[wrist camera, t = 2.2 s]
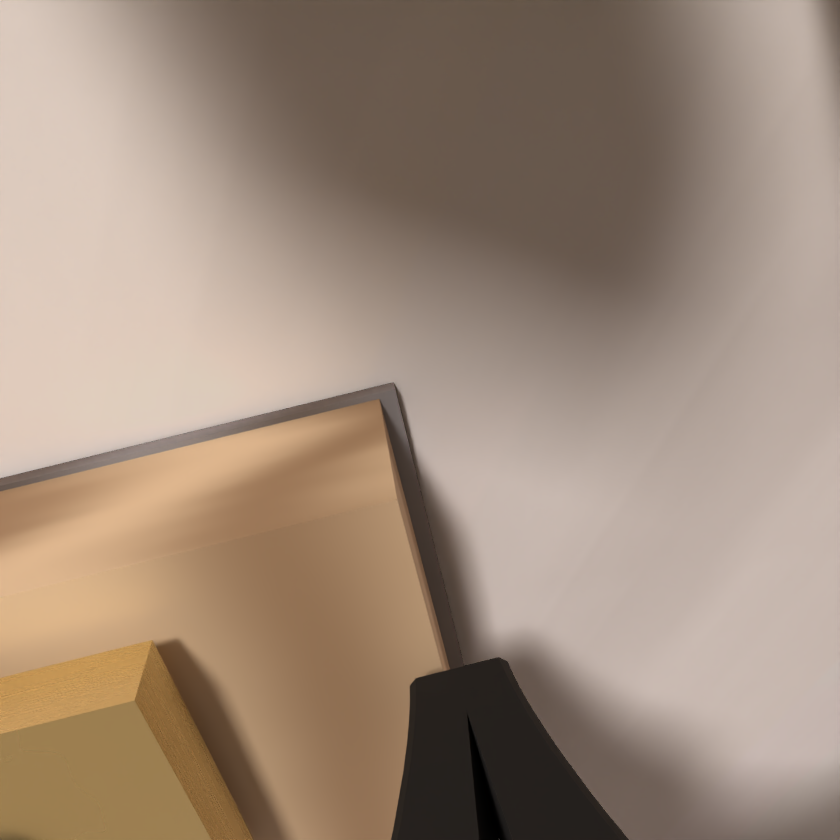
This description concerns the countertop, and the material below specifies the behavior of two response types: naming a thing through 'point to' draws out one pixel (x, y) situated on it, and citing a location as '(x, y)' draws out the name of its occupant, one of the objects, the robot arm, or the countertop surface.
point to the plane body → (250, 597)
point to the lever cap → (107, 755)
